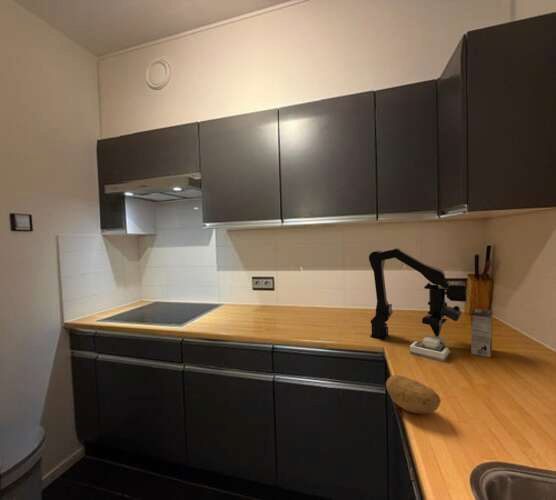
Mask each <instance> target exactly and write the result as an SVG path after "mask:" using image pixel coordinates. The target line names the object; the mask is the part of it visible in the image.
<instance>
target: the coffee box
mask: <svg viewBox="0 0 556 500" xmlns="http://www.w3.org/2000/svg"><path fill="white" fill-rule="evenodd" d="M470 314H471V315H470V316H471V319H470V320H471V321H470V322H471V325H470V326H471V332H470V333H471V334H470V335H471V338H470V341H471V343H470V344H471V345H470V346H471V347H470V349H471V350H470V351H471V352H470V353H471V354H472V355H476V356H482V357H486V358H491V357H492V353H493V352H492V351H493V310H492V309H491V310H490V309H487V308H486V309H484V308H479V307H478V308H477V307H473V309H472V311H471V313H470Z"/></svg>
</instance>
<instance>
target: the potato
mask: <svg viewBox="0 0 556 500" xmlns="http://www.w3.org/2000/svg"><path fill="white" fill-rule="evenodd" d="M385 385H386V386H385V387H386V390H387V393H388V394H389V397H390V398H391V400H392V402H393V403H395V405H397V406H398V407H401V408H402V409H404V410H405V411H407V412H409V413H411V414H412V413H413V414H418V415H419V414H420V415H422V414H423V415H426V414H431V413H432V412H434V411H436V410H438V408H439V406H440V404H441V401H442V400H441V398H440V395H439V394H438V393H436V391H435V390H434V389H433V388H432V387H429V386H427V385H425V384H423V383H421V382H419V381H418V380H415V379H412V378H410V377H407V376H404V375H401V374H393V375H391V376H389V378H388V379H387V380H386V382H385Z"/></svg>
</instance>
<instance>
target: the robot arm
mask: <svg viewBox="0 0 556 500" xmlns="http://www.w3.org/2000/svg"><path fill="white" fill-rule="evenodd" d="M391 259H396V260H398V261H400V262H401V263H403V264H405V265H407V266H408V267H410V268H412V269H413V270H415V271H417V272H418V273H420V274H421V275H422V276H423V277H424V278H425V279H426V280H427V281H429V282H428V283H427V284H426V285H424V287H423V288H424V289H426V290H429V292H428V294H429V295H428V296H429V298H428V299H429V300H428V301H427V305H428V306H429V308H428V309H429V310H428V311H427V315H425V316H424V317H422V318H421V324H424V325H429V326H430V328H431V330H432V332H433V335H434V336H436V337H440V334H441V330H442V327H443V324H445V323H446V322H447V321H448V319H451V320H452V321H454V322H457V321H459V320H460V317H461V315H462V314H463V313H462V311H461V308H460V306H458V305H455V306H453V307H452V306H448V302H447V301H446V299H448V300H449V301H450V302H460V303H462V302H463V303H467V292H466V291H467V290H466V289H467V288H466V287H467V286H466V284H452V283H451V282H450V281H449V280H448V279H447V278H446V273H445V272H444V271H443V269H440V268H437V267H435V266H433V265H432V266H431V265H428V264H426V263H423V262H421V261H420V260H419V259H417V258H415V257H413V256H411V255H410V254H408V253H406V252H405V251H403V250H402V249H400V248H397V247H396V248H393V249H389V250H385V251H381V250H375V251H372V252H370V253H369V255H368V261H369V263H370V264H369V265H370V267H371V269H372V271H373V277H374V285H375V294H376V307H375V316H373V318H372V319H371V320H370V324H371V334H370V335H369V338H374V339H378V340H385V339H387V338H388V337H389V327H388V323H387V322H388V321H389V320H390V318H391V317H392V314H393V313H394V311H393V303H390V304H389V301H388V298H387V291H386V281H385V272H384V269H385V261H386V260H391ZM444 317H447V318H448V319H446V318H444Z"/></svg>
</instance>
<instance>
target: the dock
mask: <svg viewBox="0 0 556 500" xmlns="http://www.w3.org/2000/svg"><path fill="white" fill-rule="evenodd" d="M420 344H421V343H419V341H418V340H415V341H414V342H412V344H411V345H409V354H411V355H415V356H419V357H422V358H427V359H431V360H436V361H438V362H439V361H440V362H443V363H444V362H445V361H446V360H447V358H448V357H449V356H450V355H451V353H452V351H451V350H449V347H446V346H445V349H444V350H442V352H438V351H434V350H432V349H428V348H427V349H425V348H421V347H419V345H420Z"/></svg>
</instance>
